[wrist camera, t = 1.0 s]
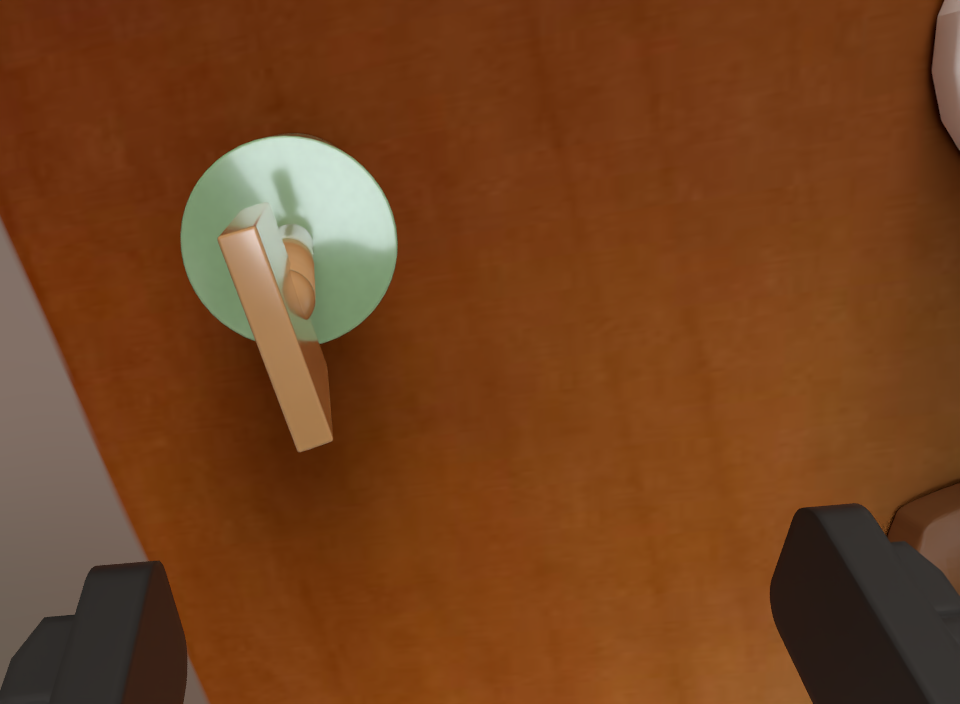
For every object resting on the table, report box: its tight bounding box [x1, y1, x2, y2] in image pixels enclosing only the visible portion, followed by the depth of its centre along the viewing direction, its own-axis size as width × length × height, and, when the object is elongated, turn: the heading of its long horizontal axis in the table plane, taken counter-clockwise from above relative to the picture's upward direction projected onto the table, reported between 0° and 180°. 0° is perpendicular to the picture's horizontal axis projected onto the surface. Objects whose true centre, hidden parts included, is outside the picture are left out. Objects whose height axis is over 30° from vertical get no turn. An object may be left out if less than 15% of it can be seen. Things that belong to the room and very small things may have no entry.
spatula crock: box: [180, 133, 398, 452], centre depth 24 cm, size 6×6×24 cm
